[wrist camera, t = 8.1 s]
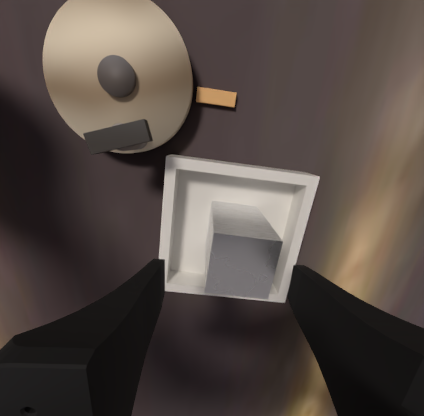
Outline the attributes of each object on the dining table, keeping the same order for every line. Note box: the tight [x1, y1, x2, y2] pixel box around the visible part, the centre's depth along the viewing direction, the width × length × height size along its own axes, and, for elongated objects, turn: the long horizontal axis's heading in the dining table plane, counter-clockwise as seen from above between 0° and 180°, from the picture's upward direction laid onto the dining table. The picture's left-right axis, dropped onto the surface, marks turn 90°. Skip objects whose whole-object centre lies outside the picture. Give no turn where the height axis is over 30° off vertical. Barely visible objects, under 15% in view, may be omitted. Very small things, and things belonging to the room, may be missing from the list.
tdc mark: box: [196, 87, 237, 108], centre depth 17 cm, size 3×1×1 cm, turn 83°
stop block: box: [204, 201, 283, 299], centre depth 16 cm, size 4×4×7 cm
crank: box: [43, 0, 193, 155], centre depth 14 cm, size 10×10×5 cm
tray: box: [159, 154, 320, 303], centre depth 19 cm, size 12×12×2 cm
